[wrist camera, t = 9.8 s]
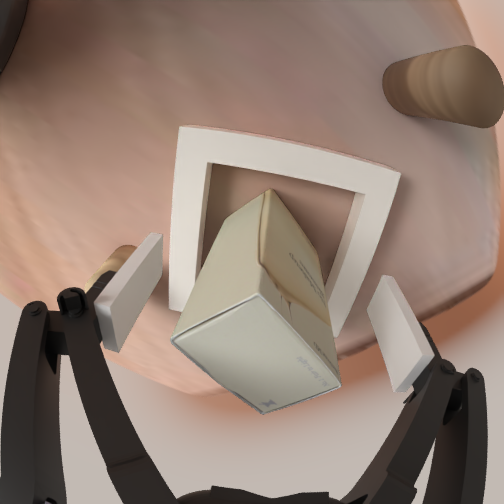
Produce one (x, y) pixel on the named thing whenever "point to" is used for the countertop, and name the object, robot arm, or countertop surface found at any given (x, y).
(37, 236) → the countertop surface
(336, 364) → the skincare box
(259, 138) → the white square frame
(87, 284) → the short oak dowel
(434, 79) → the mid walnut dowel
